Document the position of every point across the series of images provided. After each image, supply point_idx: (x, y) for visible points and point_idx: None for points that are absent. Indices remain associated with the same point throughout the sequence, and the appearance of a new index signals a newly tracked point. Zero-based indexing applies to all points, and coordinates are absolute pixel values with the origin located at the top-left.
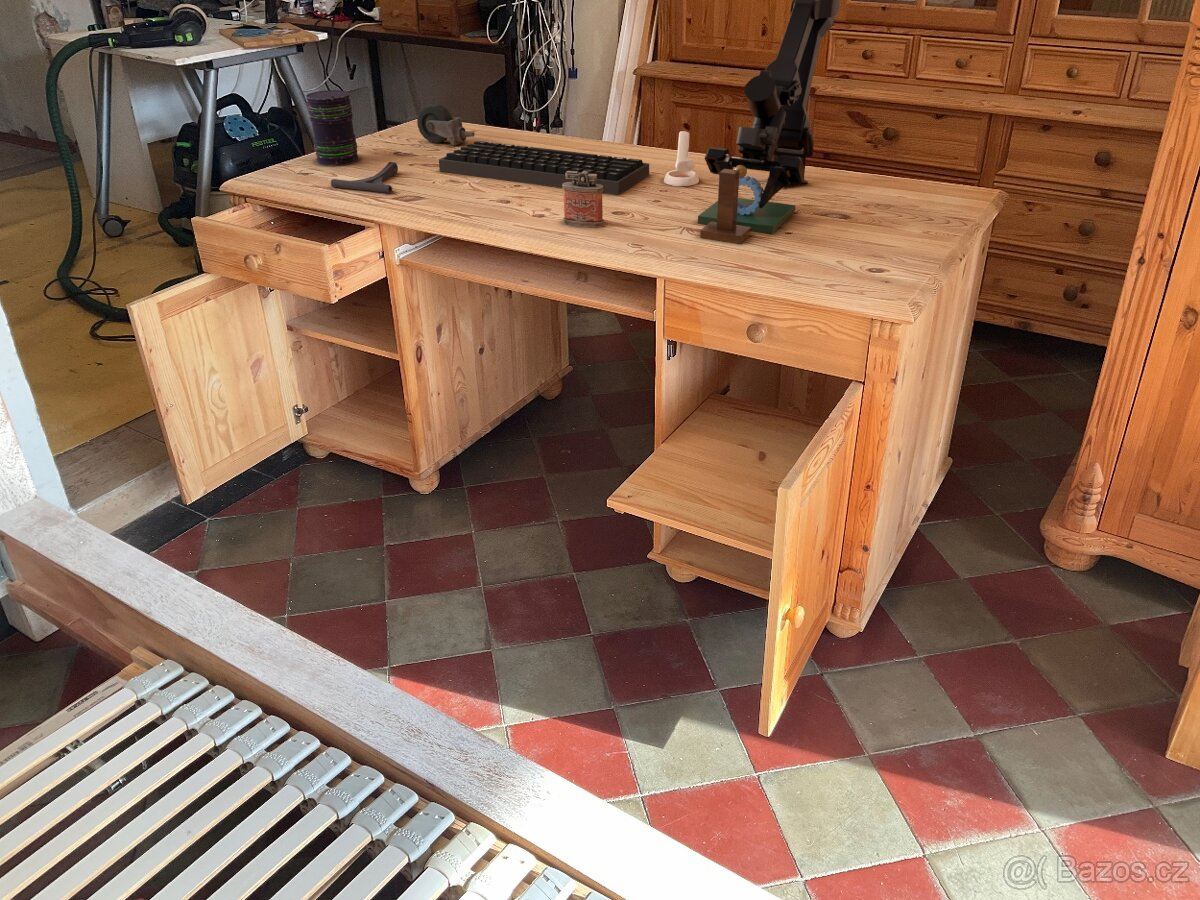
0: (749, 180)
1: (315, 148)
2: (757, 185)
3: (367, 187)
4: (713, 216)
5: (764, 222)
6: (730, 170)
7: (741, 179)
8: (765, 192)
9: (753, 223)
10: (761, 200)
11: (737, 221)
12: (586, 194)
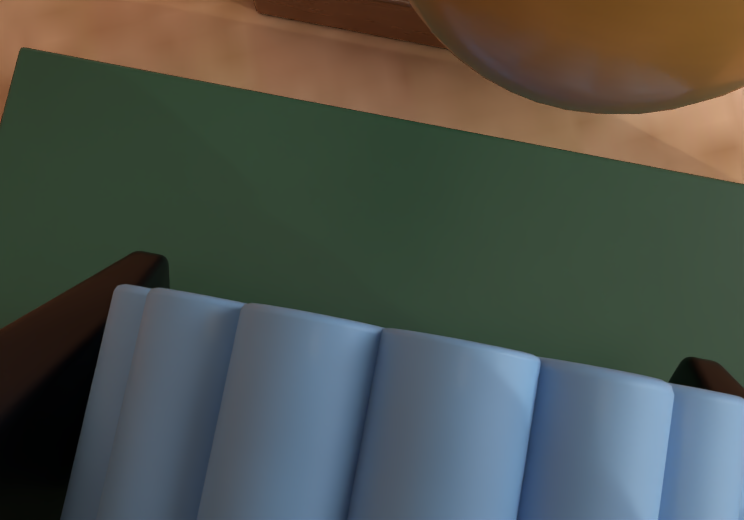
0: (322, 372)
1: None
2: (134, 360)
3: None
4: (708, 225)
5: (121, 145)
6: None
7: (548, 454)
8: (10, 352)
9: (236, 92)
10: (116, 285)
11: (417, 123)
12: None
